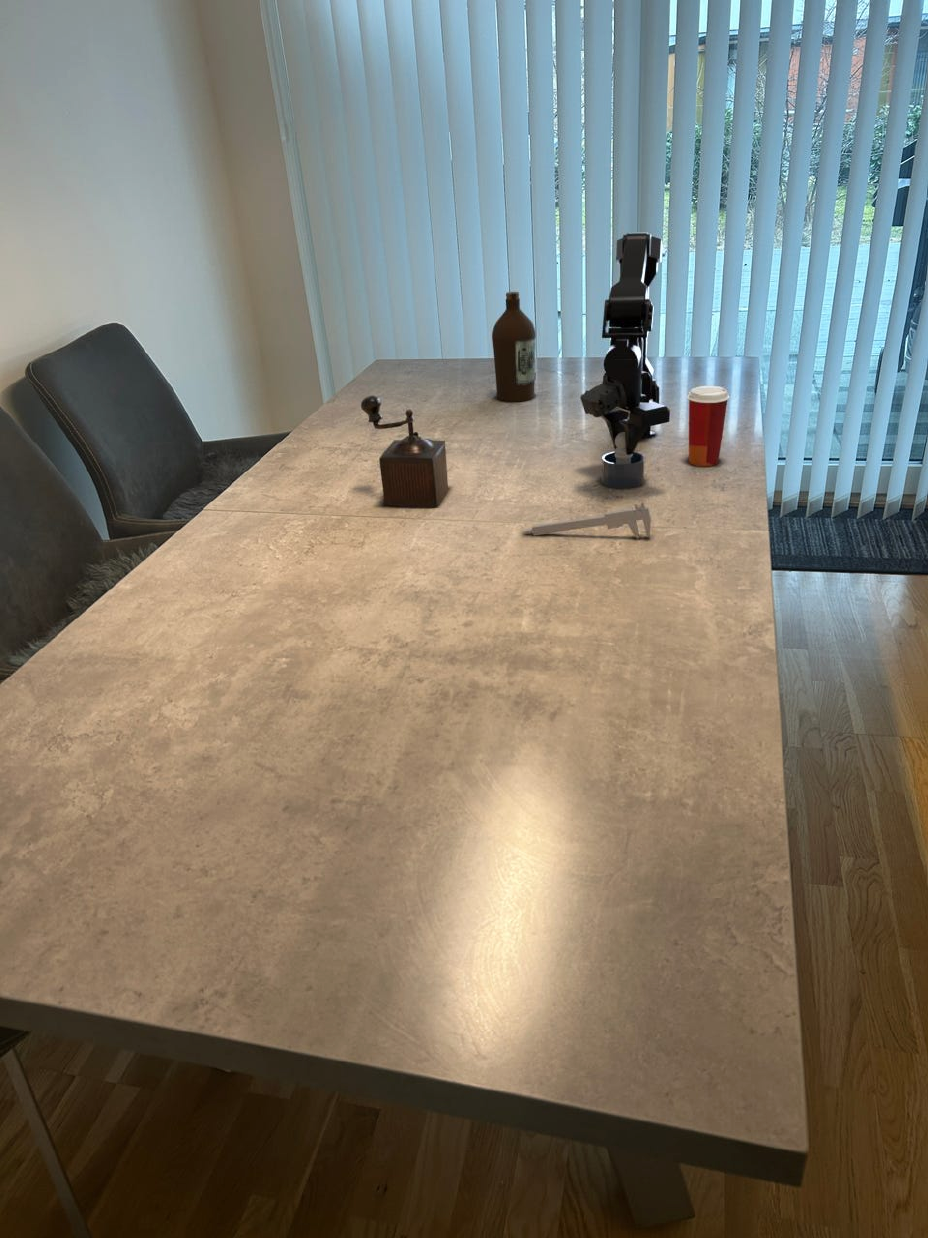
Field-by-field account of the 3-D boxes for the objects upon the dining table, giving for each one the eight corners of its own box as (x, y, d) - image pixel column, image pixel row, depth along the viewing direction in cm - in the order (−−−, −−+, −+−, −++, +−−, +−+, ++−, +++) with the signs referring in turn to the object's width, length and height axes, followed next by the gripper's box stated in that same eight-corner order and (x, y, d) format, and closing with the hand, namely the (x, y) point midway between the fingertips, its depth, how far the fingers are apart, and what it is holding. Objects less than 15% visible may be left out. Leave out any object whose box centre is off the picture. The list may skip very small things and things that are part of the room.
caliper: (650, 536, 145) (651, 500, 142) (649, 539, 144) (651, 502, 141) (525, 532, 149) (525, 497, 146) (524, 535, 148) (523, 499, 145)
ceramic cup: (593, 479, 169) (593, 456, 167) (626, 471, 172) (627, 448, 170) (618, 491, 163) (618, 467, 161) (651, 482, 166) (652, 458, 164)
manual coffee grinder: (451, 486, 170) (444, 392, 162) (437, 507, 161) (430, 409, 152) (373, 484, 174) (363, 392, 165) (356, 506, 164) (344, 409, 155)
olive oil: (485, 398, 224) (481, 294, 212) (514, 389, 230) (511, 287, 218) (516, 405, 217) (513, 297, 205) (545, 395, 223) (544, 290, 211)
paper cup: (720, 454, 177) (726, 384, 170) (726, 467, 170) (733, 394, 164) (680, 455, 178) (684, 385, 171) (685, 468, 171) (689, 396, 165)
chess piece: (642, 477, 167) (644, 430, 163) (626, 486, 164) (627, 438, 160) (619, 472, 171) (620, 426, 166) (602, 480, 167) (603, 433, 163)
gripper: (558, 364, 161) (559, 447, 169) (620, 384, 147) (618, 474, 154) (608, 354, 166) (607, 436, 173) (674, 373, 151) (669, 461, 159)
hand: (623, 451), depth 165 cm, fingers closed on chess piece, 3 cm apart
